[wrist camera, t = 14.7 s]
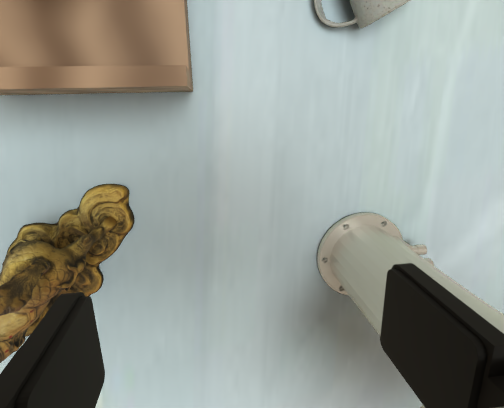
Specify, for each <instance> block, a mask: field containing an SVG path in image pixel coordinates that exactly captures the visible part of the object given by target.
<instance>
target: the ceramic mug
mask: <svg viewBox="0 0 504 408" xmlns="http://www.w3.org/2000/svg"><path fill="white" fill-rule="evenodd" d="M321 1H322V0H314V6H315V10H316V13H317V15H318V17H319V19H320V20H321V21H322V22H323V23H324V24H326V25H328V26H331V27H345V26H349V25H352V24H354V23H358V25H359V27H360V28H364V27H366V26H368V25H370V24H371V23H373V22H375V21H376V20H378V19H380V18H382V17H383V16H385V15H387V14H388V13H390V12H392V11H393V10H395V9H397V8H398V7H400V6H402V5H404V4H405V3H407V2H408V1H410V0H349V1H350V4H351V7H352V9H353V12H354V15H355V19H354V20H351V21H349V22H343V23H335V22H331V21H330V20H327V19H326V17H325V14H324V12H323V8H322V4H321Z"/></svg>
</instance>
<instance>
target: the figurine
mask: <svg viewBox="0 0 504 408" xmlns="http://www.w3.org/2000/svg"><path fill="white" fill-rule="evenodd" d="M133 224H134V215H133V212H132V210H131V209H130V207H129V190H128V189H127V188H126V187H125V186H122V185H117V184H103V185H98V186H96V187H93V188H91V189H90V190H88V191H87V192H86V193H85V195H84V196H83V198H82V200H81V202H80V205H79V207H78V208H77V209H74V210H69V211H67V212H65V213H64V214H63V215H62V216H61V217H60V219H59V221H58V223H56V224H46V223H33V224H28V225H25V226H23V227H22V228H21V229H20V231H19V233H18V235H17V238H16V239H15V241H14V242H13V243H12V244H11V245H10V247H9V249H8V251H7V255H6V258H5V260H4V262H3V264H2V265H3V268H2V272H1V274H0V363H1V362H2V361H3V360H5V359H6V358H7V357H8V356H9V355H11V354H12V353H13V352H15V351H17V350H18V349H19V347H20V346H21V345H22V344H23V343H24V342H25V337H26V336H29V335H31V333H32V332H33V331H34V329H35V328H36V327H37V325H38V324H39V323H40V321H41V320H42V319H43V317H44V316H45V314H46V313H47V312H48V310H49V309H50V308H51V306H52V305H53V304H54V302H55V301H56V299H57V298H58V297H59V296H60V295H61V294H65V293H76V292H83V293H84V295H85V297H87V296H90V295H91V294H93V293H95V292H97V291H98V290H99V289H100V288H101V286H102V283H103V276H102V274H101V272H100V270H99V264H100V263H101V262H102V261H104V260H106V259H107V258H108V257H110V256H111V255H112V254H113V253H114V252H115V251H116V250H117V249H118V247H119V246H120V244H121V242H122V241H123V239H124V238H125V236H126V235H127V234H128V232H129V231H130V230H131V229H132V227H133Z"/></svg>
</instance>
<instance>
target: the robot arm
mask: <svg viewBox="0 0 504 408" xmlns="http://www.w3.org/2000/svg"><path fill="white" fill-rule="evenodd" d="M381 222H382V223H381ZM344 224H345V225H344ZM343 225H344V226H343ZM426 253H427V248H426V246H425V245H423V244H422V245H414V246H410V245H409V244H408V243H406V242H405V241H403V238H402V235H401V233H400V231H399V229H398V228H397V227H396V226H395V225H394V224H393V223H392V222H391V221H389V220H388V219H386V218H385V217H383V216H381V215H378V214H375V213H357V214H353V215H350V216H348V217H345V218H343V219H342V220H340V221H339V222H337V223H336V224H335V225H333V226H332V227H331V228H330V229H329V230H328V232H327V233H326V235H325V236H324V237H323V239H322V241H321V243H320V246H319V250H318V257H317V262H318V268H319V271H320V274H321V276H322V277H323V279H324V281H325V282H326V283H327V284H328V286H330V287H331V288H332V289H333V290H335V291H337V292H338V293H341V294H345V295H349V296H350V297H351V298H352V300H353V301H354V302H355V304H356V305H357V306H358V308H359V309H360V310H361V312H362V313H363V314H364V316H365V317H366V318H367V320H368V321H369V322H370V324H371V325H372V326H373V328H374V329H375V330H376V332H377V333H378V334H379V336H380V341H381V345H382V348H383V350H384V351H385V353H386V354H387V355H388V357H389V358H390V359H391V361H392V362H393V364H394V365H395V366H396V368H397V369H398V371H399V372H400V373H401V375H402V376H403V377H404V379H405V380H406V382H407V383H408V384H409V386H410V387H411V388H412V390H413V391H414V393H415V394H416V395H417V397H418V398H419V399H420V401H421V402H422V404H423V405H422V406H421V407H420V408H504V314H503V313H501V312H499V311H498V310H496V309H495V308H493V307H492V306H490V305H489V304H487V303H486V302H484V301H483V300H481V299H480V298H478V297H477V296H475V295H474V294H472V293H471V292H469V291H468V290H467V289H465V288H464V287H462V286H461V285H460V284H458V283H457V282H455V281H454V280H453V279H451V278H450V277H448V276H447V275H446V274H444V273H443V272H441V271H440V270H439V269H437V268H436V267H434V264H433V261H432V260H431V259H429V258H424V259H423V258H422V257H420V256H419V255H423V254H426ZM104 377H105V370H104V364H103V359H102V353H101V348H100V342H99V337H98V331H97V326H96V320H95V315H94V309H93V304H92V299H91V297H90V296H87V297H85V295H84V293H83V292H76V293H65V294H61V295H60V296H59V297H58V298H57V299H56V301H55V302H54V304H53V305H52V306H51V308H50V309H49V310H48V312H47V313H46V314H45V316H44V317H43V319H42V320H41V321H40V323H39V324H38V325H37V327H36V328H35V329H34V331H33V332H32V333H31V335H30V336H29V338H28V339H27V340H26V342H25V343H24V344H23V345H22V346H21V347H20V348H19V350H18V351H17V352H16V354H15V355H14V356H13V358H12V359H11V360H10V362H9V363H8V364H7V366H6V367H5V368H4V370H3V371H2V373H1V374H0V408H95V406H96V403H97V400H98V398H99V395H100V392H101V389H102V386H103V383H104Z"/></svg>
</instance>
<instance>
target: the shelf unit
mask: <svg viewBox="0 0 504 408" xmlns="http://www.w3.org/2000/svg"><path fill="white" fill-rule="evenodd" d="M192 91H193V82H192V68H191V53H190V39H189V24H188V10H187V0H0V95H38V94H89V93H141V92H192Z"/></svg>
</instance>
